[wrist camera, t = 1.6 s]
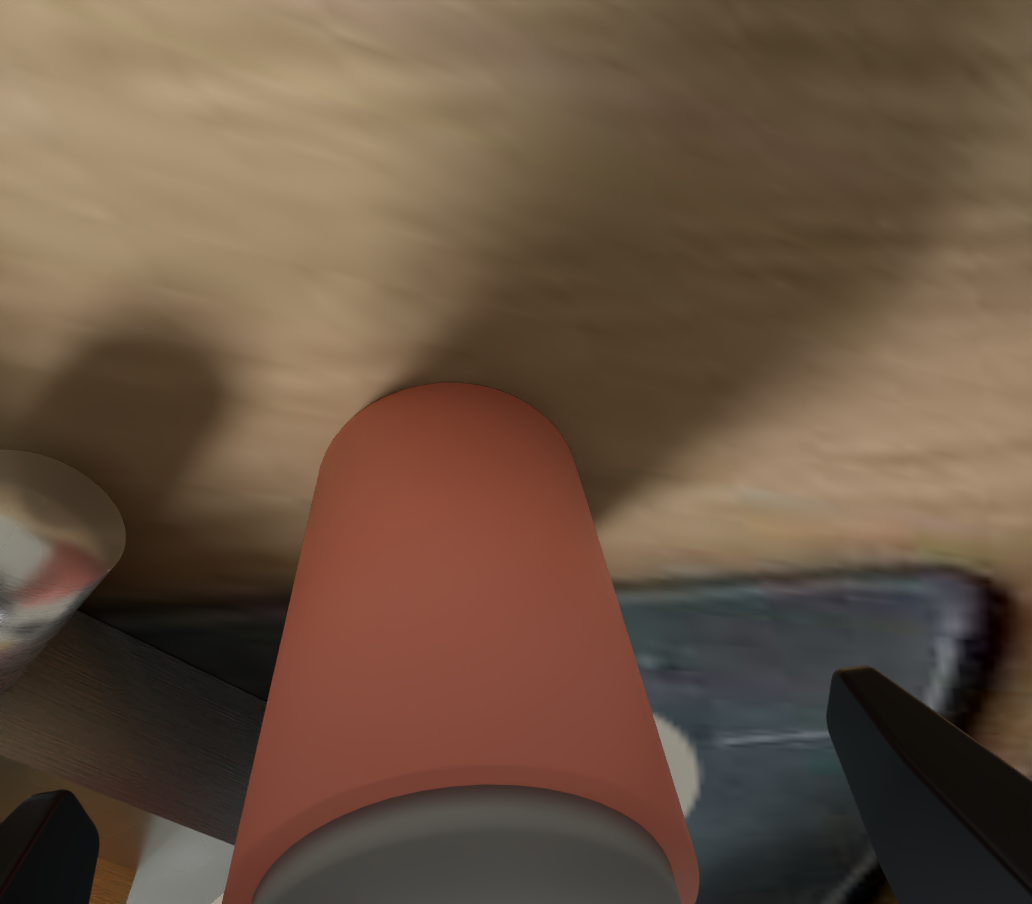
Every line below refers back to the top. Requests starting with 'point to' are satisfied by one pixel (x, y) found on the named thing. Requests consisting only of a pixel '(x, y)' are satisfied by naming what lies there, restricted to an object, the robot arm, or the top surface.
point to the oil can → (457, 683)
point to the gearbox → (110, 702)
